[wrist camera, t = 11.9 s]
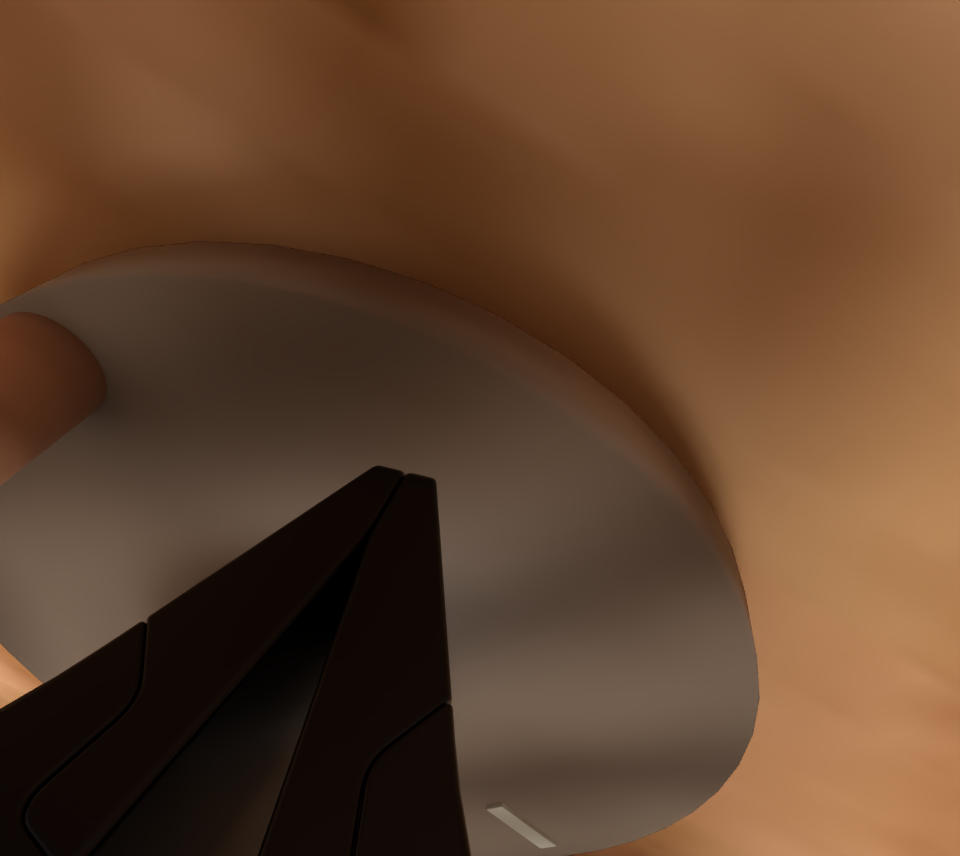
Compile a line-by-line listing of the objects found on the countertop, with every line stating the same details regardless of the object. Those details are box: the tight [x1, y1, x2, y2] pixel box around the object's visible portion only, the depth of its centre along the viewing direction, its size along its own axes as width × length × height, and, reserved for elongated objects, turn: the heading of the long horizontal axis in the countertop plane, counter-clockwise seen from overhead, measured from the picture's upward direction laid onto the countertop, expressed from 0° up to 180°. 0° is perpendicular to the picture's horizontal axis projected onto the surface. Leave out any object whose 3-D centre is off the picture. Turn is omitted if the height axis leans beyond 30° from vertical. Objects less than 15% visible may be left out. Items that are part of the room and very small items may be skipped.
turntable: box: [0, 241, 759, 856], centre depth 14 cm, size 20×20×5 cm
